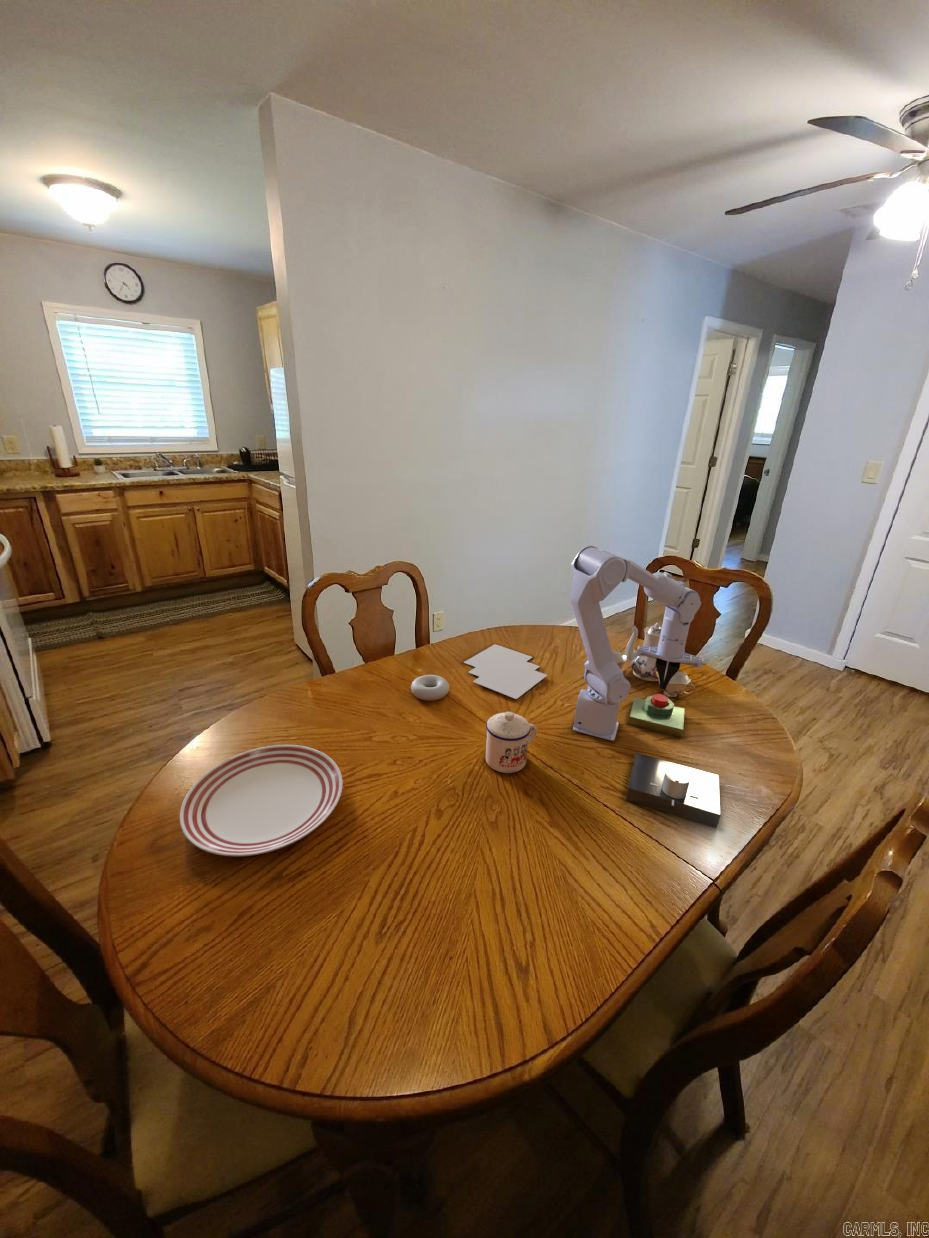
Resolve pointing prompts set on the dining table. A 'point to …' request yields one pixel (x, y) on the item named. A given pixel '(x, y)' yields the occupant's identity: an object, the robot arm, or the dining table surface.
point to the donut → (430, 687)
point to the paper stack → (505, 671)
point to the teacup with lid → (508, 741)
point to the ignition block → (657, 716)
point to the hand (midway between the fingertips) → (662, 687)
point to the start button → (660, 700)
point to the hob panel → (694, 806)
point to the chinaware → (650, 662)
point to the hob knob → (675, 783)
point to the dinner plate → (261, 800)
